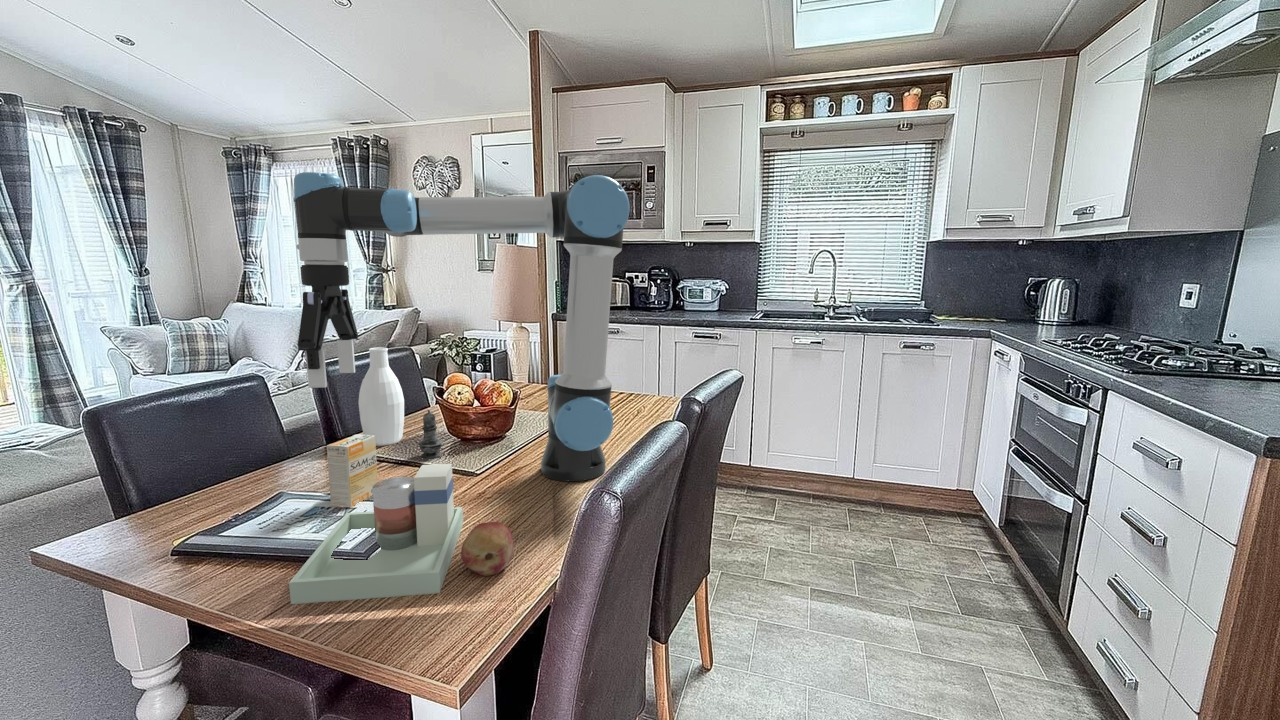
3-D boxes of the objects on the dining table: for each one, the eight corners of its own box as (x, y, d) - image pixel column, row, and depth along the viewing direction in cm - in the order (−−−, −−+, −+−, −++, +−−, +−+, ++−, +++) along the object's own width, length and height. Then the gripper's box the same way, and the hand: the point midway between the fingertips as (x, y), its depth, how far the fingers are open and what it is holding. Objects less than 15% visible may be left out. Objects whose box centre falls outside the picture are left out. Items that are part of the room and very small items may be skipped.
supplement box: (351, 512, 106) (347, 447, 104) (330, 509, 107) (325, 445, 104) (380, 495, 114) (376, 434, 112) (359, 493, 115) (355, 432, 112)
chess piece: (431, 450, 142) (429, 405, 140) (448, 454, 139) (446, 408, 137) (413, 457, 137) (410, 410, 135) (430, 461, 134) (428, 413, 132)
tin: (425, 529, 98) (422, 475, 96) (416, 549, 91) (412, 491, 89) (383, 531, 96) (379, 477, 95) (370, 551, 90) (366, 493, 88)
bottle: (412, 434, 155) (407, 345, 151) (397, 447, 144) (391, 351, 140) (371, 435, 154) (365, 345, 150) (353, 447, 143) (346, 351, 139)
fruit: (453, 583, 83) (451, 533, 81) (477, 557, 90) (475, 511, 89) (501, 589, 81) (500, 538, 80) (522, 562, 89) (521, 516, 87)
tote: (463, 527, 100) (462, 506, 100) (440, 597, 79) (438, 572, 78) (348, 534, 97) (346, 512, 96) (291, 609, 76) (288, 582, 75)
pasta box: (454, 527, 98) (452, 463, 97) (448, 544, 93) (446, 476, 91) (425, 529, 98) (421, 464, 96) (417, 546, 92) (413, 477, 90)
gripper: (330, 263, 110) (338, 367, 114) (265, 262, 86) (278, 394, 89) (369, 264, 111) (376, 367, 115) (316, 263, 87) (327, 393, 90)
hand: (333, 379), depth 102 cm, fingers open, 13 cm apart
